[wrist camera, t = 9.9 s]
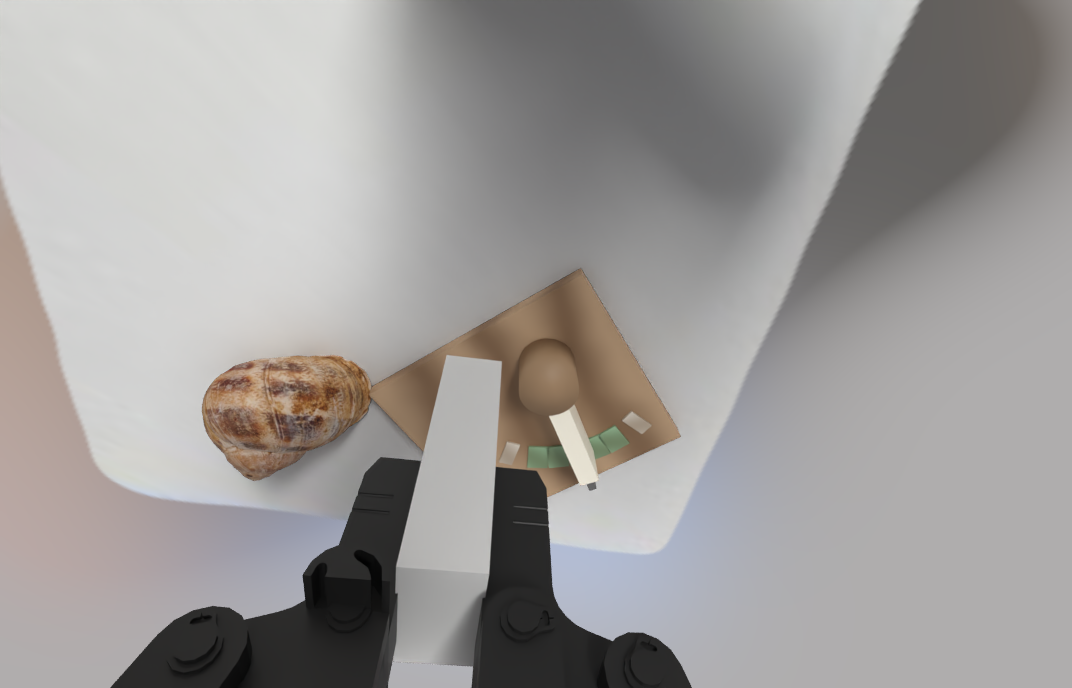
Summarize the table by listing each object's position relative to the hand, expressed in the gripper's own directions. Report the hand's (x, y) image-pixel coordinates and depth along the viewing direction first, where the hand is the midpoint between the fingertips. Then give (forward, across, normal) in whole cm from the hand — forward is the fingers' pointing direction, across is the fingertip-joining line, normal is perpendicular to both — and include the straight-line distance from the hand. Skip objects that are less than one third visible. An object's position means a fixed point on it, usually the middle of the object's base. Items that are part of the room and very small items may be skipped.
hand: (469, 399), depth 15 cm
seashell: (+25, -15, -19) cm, 35 cm away
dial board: (+24, +5, -18) cm, 31 cm away
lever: (+23, +7, -16) cm, 29 cm away
